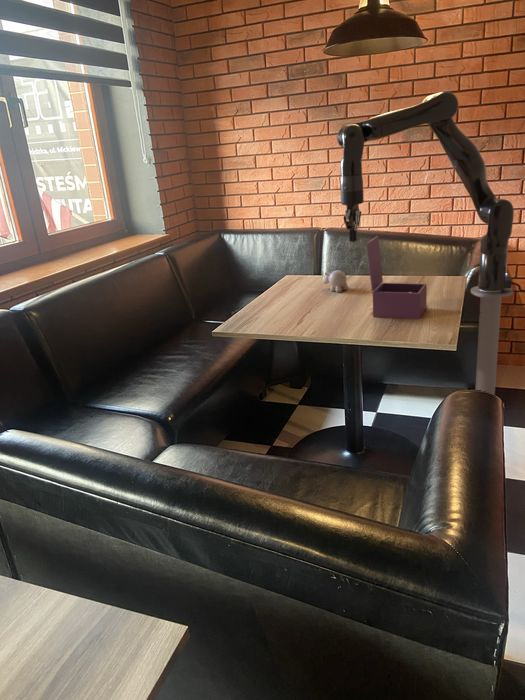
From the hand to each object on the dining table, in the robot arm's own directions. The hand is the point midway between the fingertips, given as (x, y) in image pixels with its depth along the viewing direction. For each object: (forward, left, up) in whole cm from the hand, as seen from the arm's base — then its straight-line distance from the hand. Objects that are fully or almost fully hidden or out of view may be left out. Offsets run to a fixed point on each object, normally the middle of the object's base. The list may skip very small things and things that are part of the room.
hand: (353, 241), depth 185 cm
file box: (-16, 0, -25) cm, 30 cm away
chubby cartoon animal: (+17, -26, -25) cm, 40 cm away
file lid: (-8, 0, -8) cm, 11 cm away
